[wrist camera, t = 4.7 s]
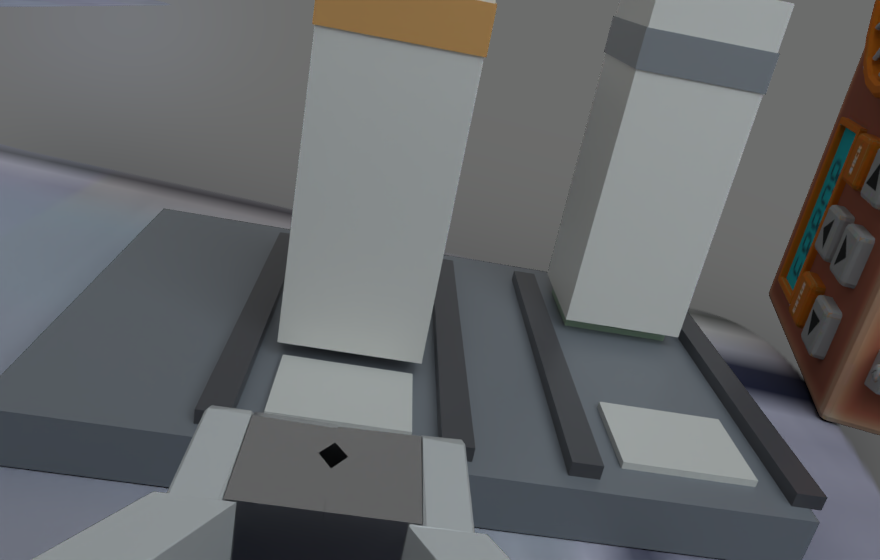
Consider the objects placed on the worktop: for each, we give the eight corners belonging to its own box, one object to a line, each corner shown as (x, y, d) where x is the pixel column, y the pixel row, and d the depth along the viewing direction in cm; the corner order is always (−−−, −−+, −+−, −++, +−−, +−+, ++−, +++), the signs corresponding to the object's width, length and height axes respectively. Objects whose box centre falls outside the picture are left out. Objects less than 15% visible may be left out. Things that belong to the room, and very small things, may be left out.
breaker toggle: (275, 342, 21) (326, -100, 17) (296, 282, 25) (343, -91, 20) (423, 364, 21) (510, -62, 17) (422, 302, 25) (493, -60, 21)
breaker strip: (-27, 462, 17) (-67, -192, 12) (161, 244, 30) (179, -120, 25) (808, 570, 19) (1064, 46, 14) (652, 322, 32) (758, 0, 27)
